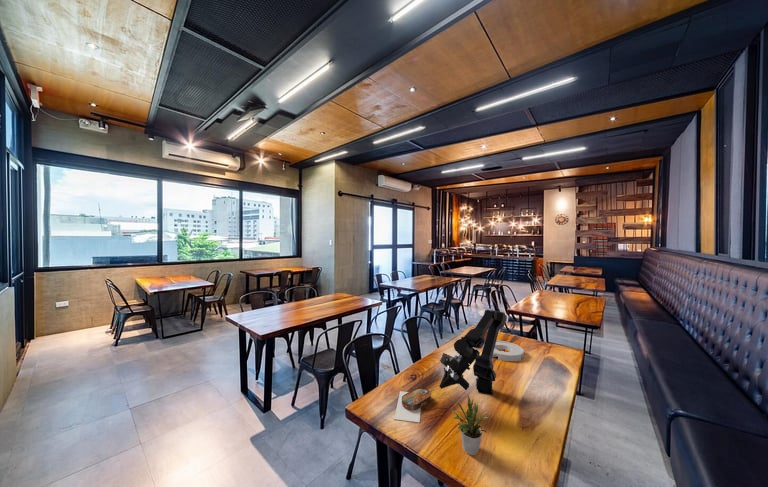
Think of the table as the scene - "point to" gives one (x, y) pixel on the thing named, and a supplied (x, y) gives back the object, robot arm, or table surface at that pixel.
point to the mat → (406, 412)
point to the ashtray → (513, 355)
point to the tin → (416, 398)
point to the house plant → (470, 428)
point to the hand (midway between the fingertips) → (440, 387)
